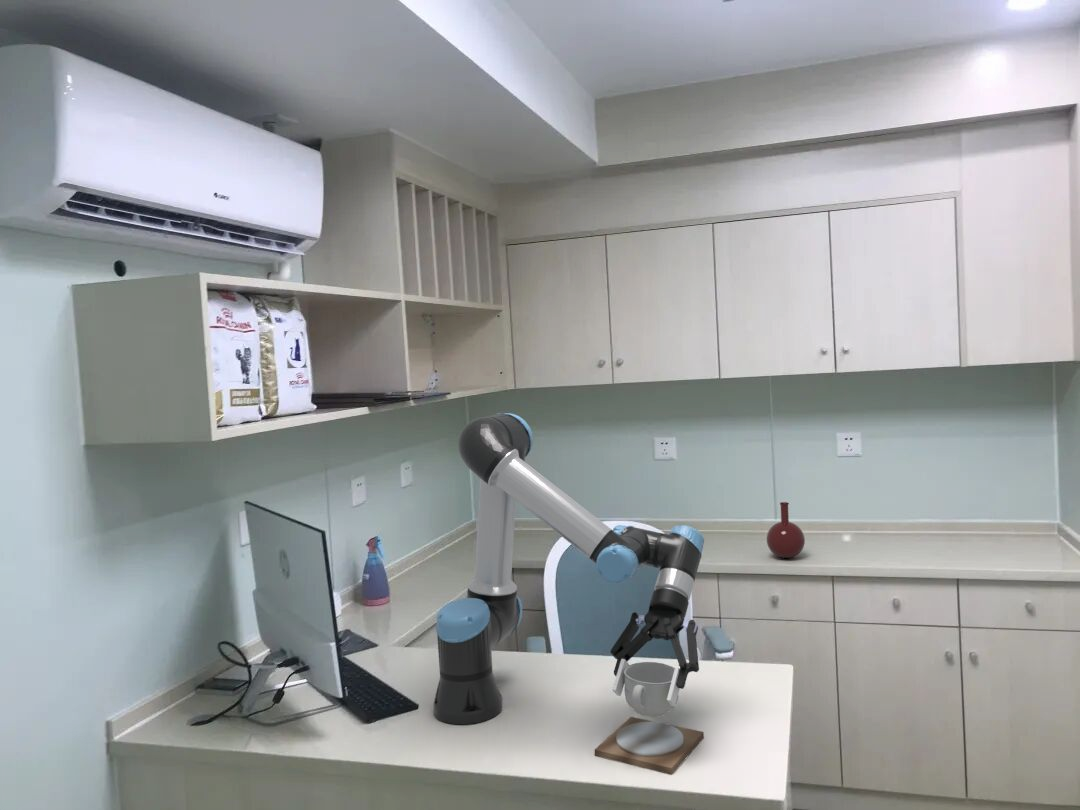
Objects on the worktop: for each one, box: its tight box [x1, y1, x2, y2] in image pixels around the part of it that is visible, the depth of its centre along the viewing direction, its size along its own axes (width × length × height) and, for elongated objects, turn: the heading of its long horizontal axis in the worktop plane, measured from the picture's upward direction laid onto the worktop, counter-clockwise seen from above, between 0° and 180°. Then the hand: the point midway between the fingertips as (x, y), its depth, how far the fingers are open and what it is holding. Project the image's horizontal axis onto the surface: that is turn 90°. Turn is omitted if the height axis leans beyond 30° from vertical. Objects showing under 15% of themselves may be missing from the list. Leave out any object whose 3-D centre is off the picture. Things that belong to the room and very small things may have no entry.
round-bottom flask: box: [766, 501, 806, 559], centre depth 298 cm, size 13×13×20 cm
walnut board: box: [593, 716, 705, 775], centre depth 162 cm, size 16×16×2 cm
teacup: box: [624, 661, 679, 718], centre depth 162 cm, size 14×11×8 cm
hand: (643, 698), depth 159 cm, fingers closed on teacup, 11 cm apart
